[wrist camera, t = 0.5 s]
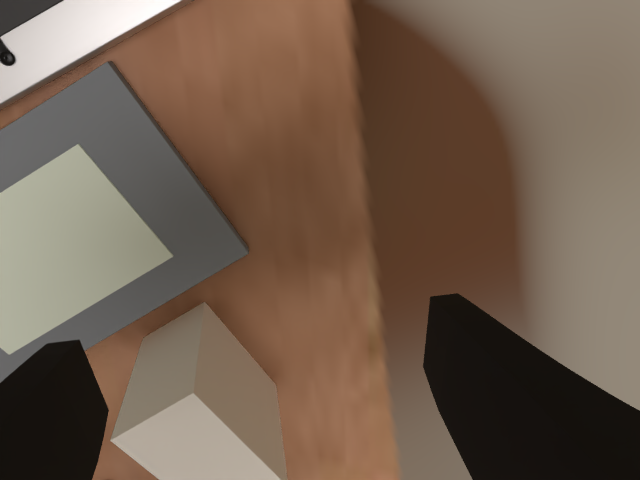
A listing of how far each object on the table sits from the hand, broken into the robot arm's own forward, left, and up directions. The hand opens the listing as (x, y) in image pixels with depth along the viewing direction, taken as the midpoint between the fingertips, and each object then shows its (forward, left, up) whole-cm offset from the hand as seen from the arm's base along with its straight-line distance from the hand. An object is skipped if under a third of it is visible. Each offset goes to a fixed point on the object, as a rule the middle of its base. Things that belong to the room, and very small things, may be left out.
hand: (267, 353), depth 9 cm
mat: (-8, +3, -11) cm, 14 cm away
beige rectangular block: (-6, -6, -11) cm, 14 cm away
